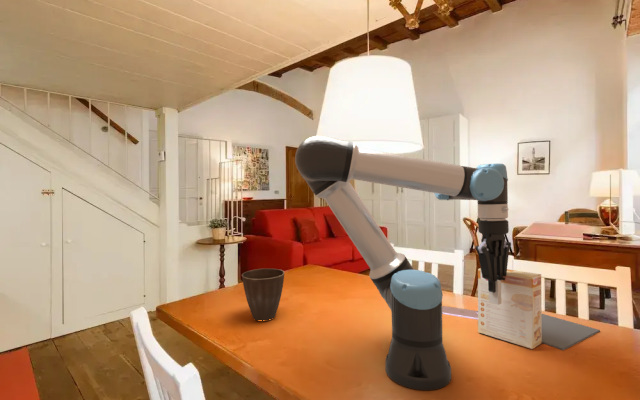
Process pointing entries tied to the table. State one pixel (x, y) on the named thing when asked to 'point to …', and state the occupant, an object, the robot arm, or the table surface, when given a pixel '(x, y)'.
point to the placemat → (563, 332)
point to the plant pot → (263, 291)
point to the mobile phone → (460, 312)
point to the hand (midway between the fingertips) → (495, 302)
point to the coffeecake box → (512, 309)
